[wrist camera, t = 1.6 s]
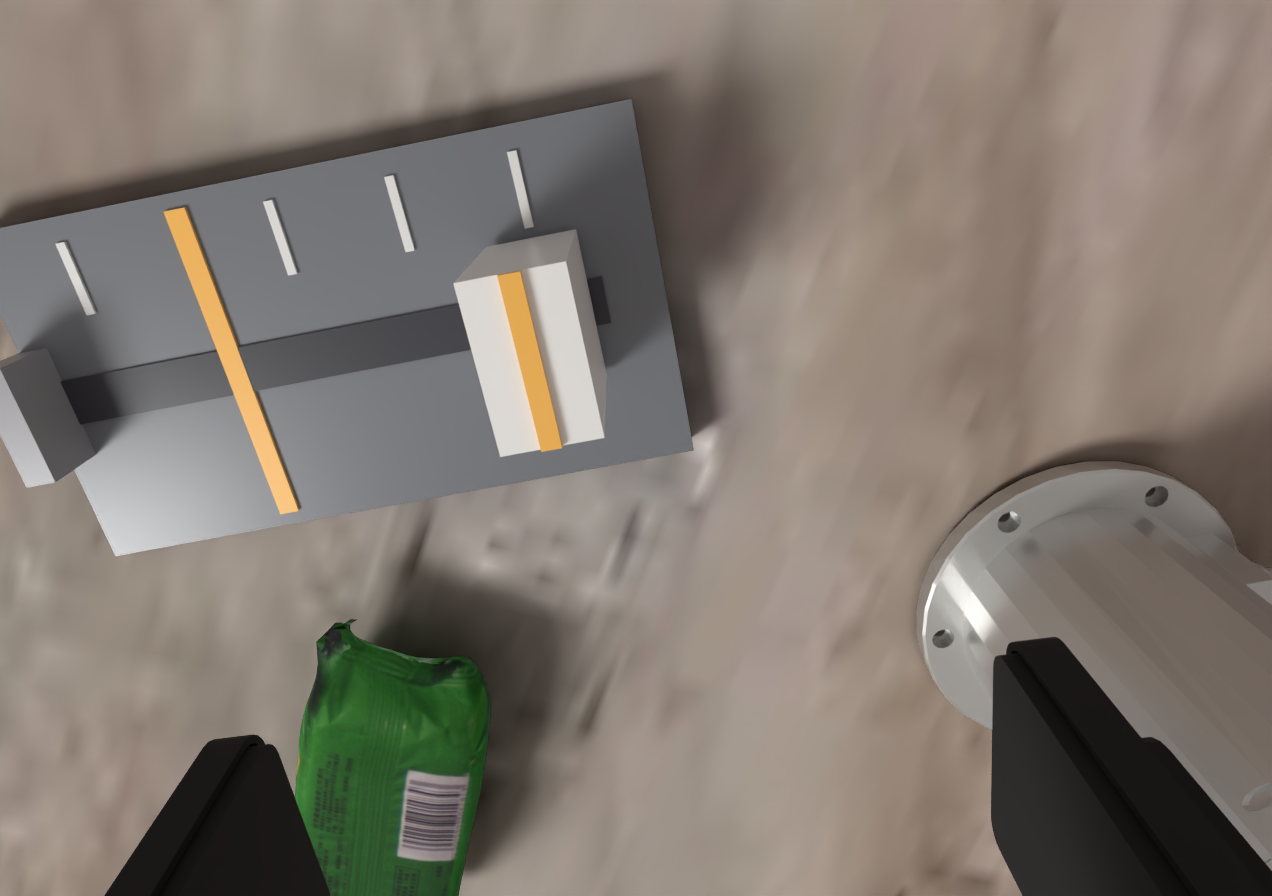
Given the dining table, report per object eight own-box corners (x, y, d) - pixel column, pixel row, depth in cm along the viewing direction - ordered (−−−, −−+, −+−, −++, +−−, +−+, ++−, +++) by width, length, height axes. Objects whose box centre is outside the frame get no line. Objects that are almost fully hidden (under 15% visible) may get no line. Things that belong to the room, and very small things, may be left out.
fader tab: (576, 229, 28) (565, 262, 22) (606, 374, 30) (604, 440, 24) (485, 246, 28) (452, 284, 22) (521, 390, 30) (499, 459, 24)
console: (630, 98, 28) (632, 98, 24) (691, 438, 32) (699, 477, 29) (-12, 230, 29) (-95, 247, 25) (132, 540, 33) (78, 589, 30)
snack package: (516, 614, 35) (498, 695, 30) (462, 891, 41) (440, 996, 36) (341, 583, 35) (295, 661, 30) (311, 868, 40) (268, 973, 35)
